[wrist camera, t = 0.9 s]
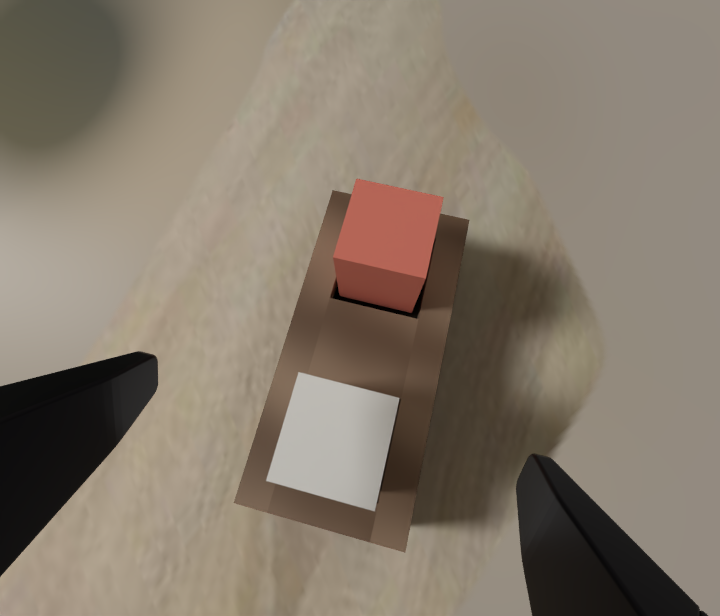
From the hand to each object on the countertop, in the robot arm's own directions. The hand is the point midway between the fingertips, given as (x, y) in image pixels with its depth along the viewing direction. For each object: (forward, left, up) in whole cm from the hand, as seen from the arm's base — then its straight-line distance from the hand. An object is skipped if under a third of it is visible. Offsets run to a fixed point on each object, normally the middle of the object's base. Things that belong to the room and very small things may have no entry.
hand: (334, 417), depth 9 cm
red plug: (+8, 0, -11) cm, 14 cm away
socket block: (+4, 0, -15) cm, 16 cm away
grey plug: (-1, 0, -11) cm, 11 cm away
